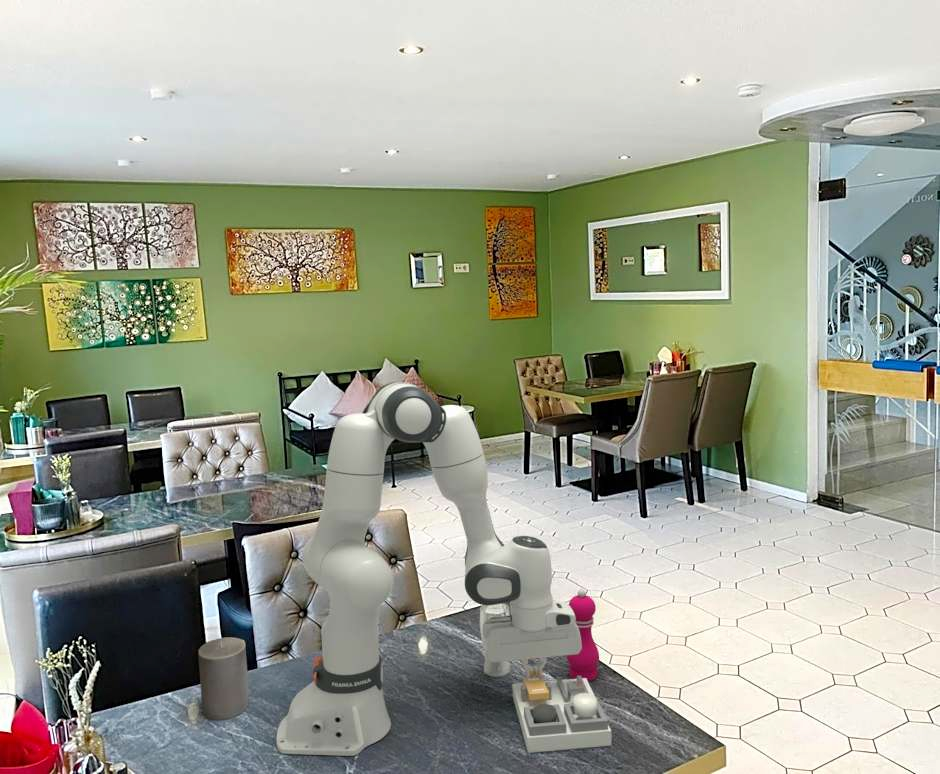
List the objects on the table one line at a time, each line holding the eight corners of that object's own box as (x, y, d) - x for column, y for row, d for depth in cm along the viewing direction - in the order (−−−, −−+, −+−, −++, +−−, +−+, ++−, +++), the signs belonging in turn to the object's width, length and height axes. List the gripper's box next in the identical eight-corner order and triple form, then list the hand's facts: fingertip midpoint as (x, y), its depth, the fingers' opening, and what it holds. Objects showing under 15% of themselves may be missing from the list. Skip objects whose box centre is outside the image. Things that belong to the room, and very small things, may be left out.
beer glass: (517, 667, 176) (515, 605, 174) (502, 680, 170) (500, 616, 168) (491, 660, 179) (489, 599, 178) (475, 673, 174) (473, 610, 172)
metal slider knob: (570, 703, 154) (570, 689, 154) (567, 695, 157) (567, 681, 157) (585, 701, 154) (584, 687, 154) (581, 694, 157) (581, 680, 157)
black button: (535, 729, 145) (535, 717, 144) (531, 716, 149) (531, 704, 149) (558, 727, 145) (558, 715, 145) (553, 715, 149) (553, 703, 149)
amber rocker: (529, 700, 152) (529, 692, 152) (523, 684, 160) (523, 677, 160) (549, 698, 152) (549, 691, 152) (542, 682, 160) (541, 675, 160)
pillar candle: (194, 709, 163) (188, 643, 161) (235, 690, 170) (230, 627, 168) (217, 726, 156) (211, 657, 154) (259, 706, 163) (254, 640, 161)
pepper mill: (598, 684, 167) (597, 596, 165) (565, 681, 169) (563, 595, 166) (600, 667, 174) (598, 584, 172) (568, 665, 176) (566, 582, 173)
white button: (576, 718, 145) (576, 706, 145) (571, 705, 150) (571, 693, 149) (599, 716, 146) (599, 704, 145) (593, 704, 150) (593, 692, 150)
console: (528, 752, 143) (527, 723, 142) (512, 697, 163) (512, 671, 162) (611, 745, 145) (611, 716, 144) (586, 691, 164) (585, 665, 164)
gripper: (484, 624, 154) (487, 688, 156) (582, 615, 156) (584, 678, 158) (480, 611, 160) (483, 673, 162) (575, 603, 163) (576, 664, 165)
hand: (534, 676), depth 160 cm, fingers closed, pressing on amber rocker
